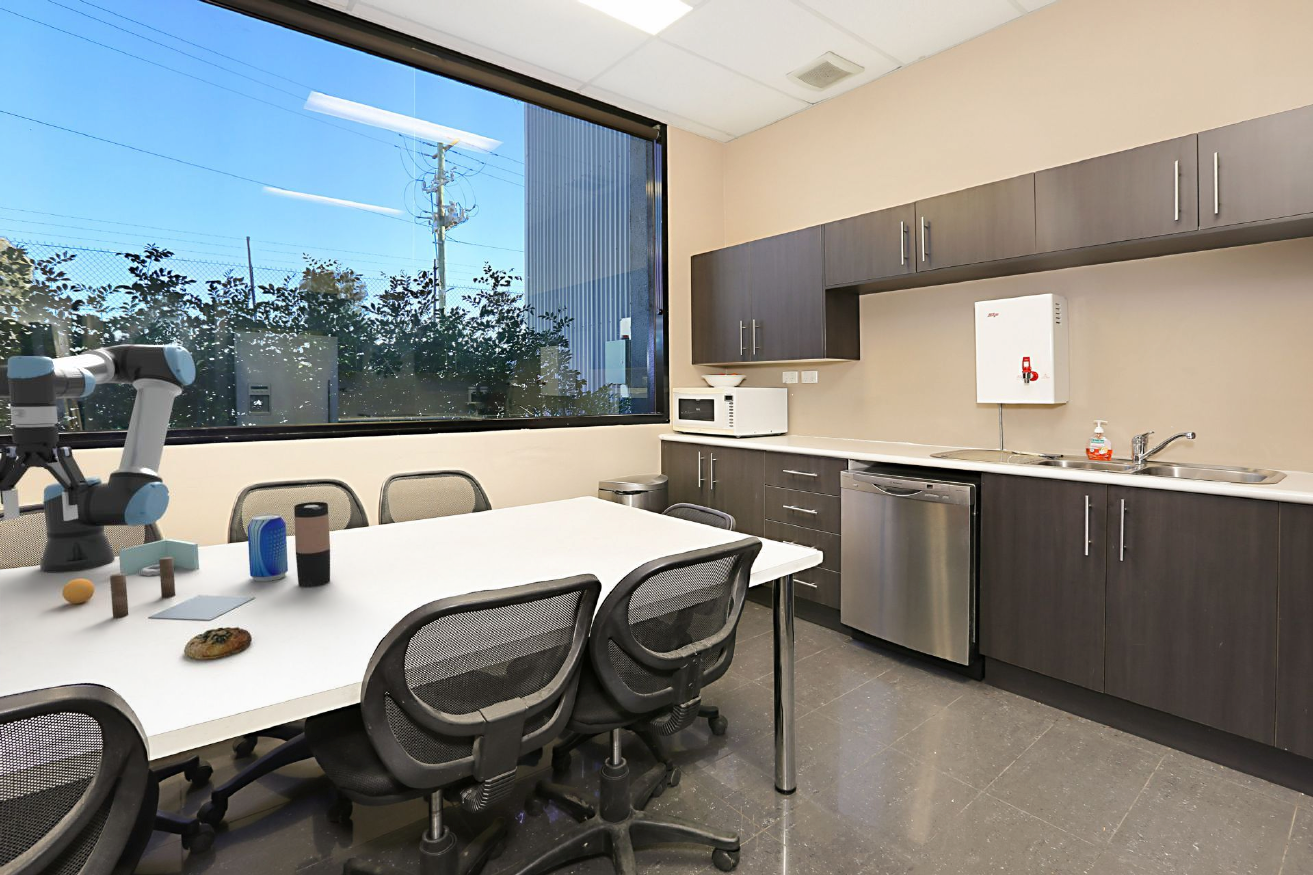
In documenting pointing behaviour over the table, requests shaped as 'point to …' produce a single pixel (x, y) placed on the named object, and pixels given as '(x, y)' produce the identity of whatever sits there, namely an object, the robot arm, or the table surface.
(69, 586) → the ball
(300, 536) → the travel mug
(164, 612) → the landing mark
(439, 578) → the table surface
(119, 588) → the post
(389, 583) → the table surface
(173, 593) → the post
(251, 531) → the beer can
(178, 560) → the l-shaped corner panel
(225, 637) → the bread roll
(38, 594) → the table surface
